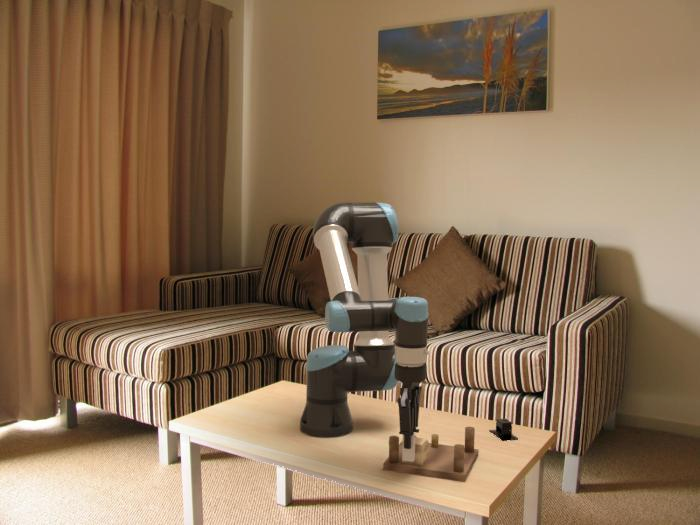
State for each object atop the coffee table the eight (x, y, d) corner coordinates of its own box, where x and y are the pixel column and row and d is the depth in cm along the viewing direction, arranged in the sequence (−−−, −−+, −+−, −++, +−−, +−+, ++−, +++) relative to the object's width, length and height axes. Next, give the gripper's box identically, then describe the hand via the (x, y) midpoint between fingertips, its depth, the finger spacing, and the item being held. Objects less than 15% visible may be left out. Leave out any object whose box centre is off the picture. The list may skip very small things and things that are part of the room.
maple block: (401, 462, 173) (402, 442, 173) (406, 455, 178) (407, 436, 178) (421, 465, 172) (422, 445, 171) (426, 458, 176) (426, 438, 176)
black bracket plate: (525, 443, 194) (526, 427, 194) (500, 444, 193) (501, 428, 192) (505, 428, 206) (505, 413, 206) (482, 430, 205) (482, 414, 204)
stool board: (383, 469, 173) (383, 439, 172) (403, 445, 190) (403, 417, 189) (465, 481, 166) (466, 450, 165) (478, 455, 183) (479, 426, 182)
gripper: (419, 370, 160) (416, 472, 162) (432, 358, 172) (430, 453, 175) (387, 367, 163) (385, 467, 165) (402, 355, 175) (400, 448, 177)
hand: (408, 460), depth 170 cm, fingers closed
